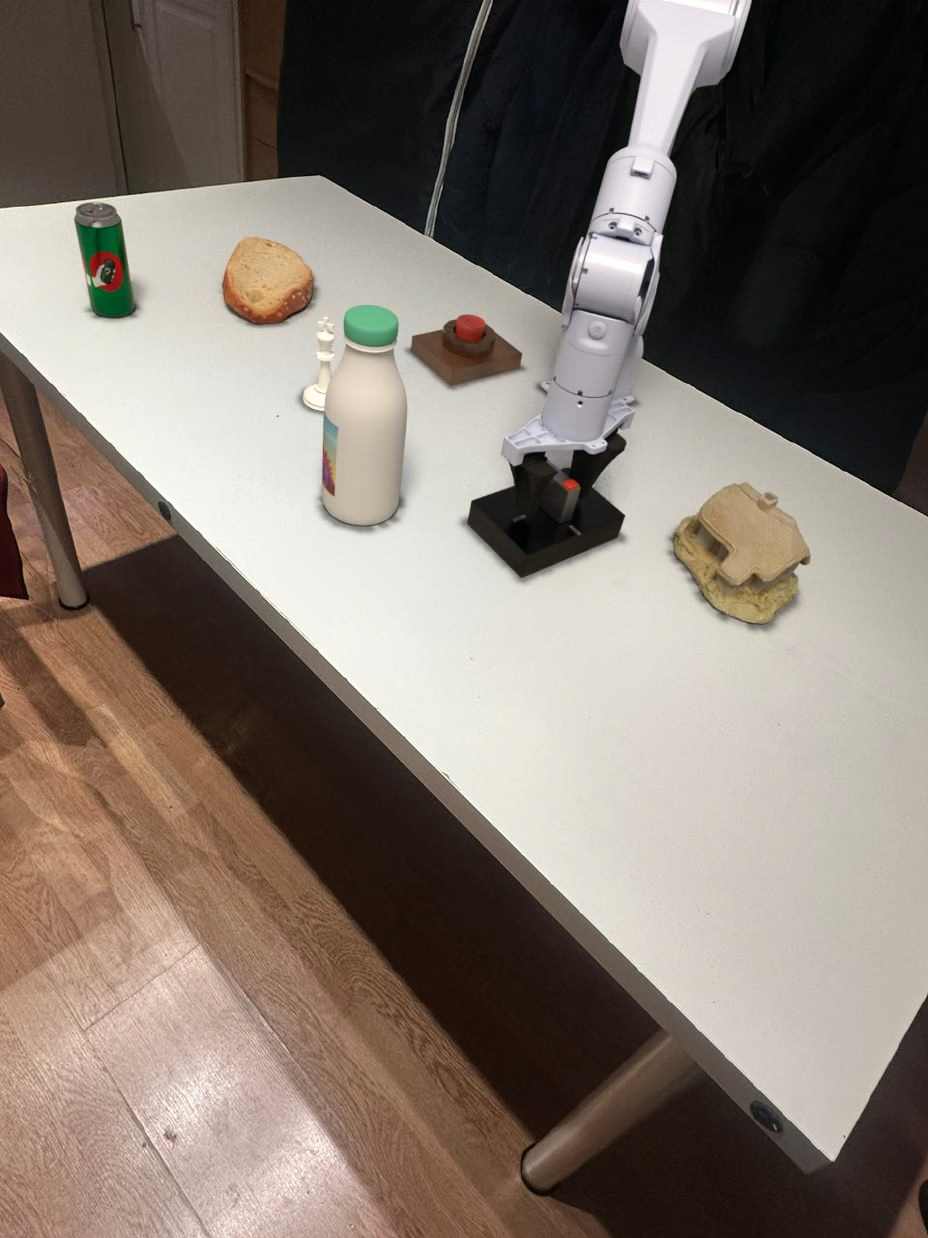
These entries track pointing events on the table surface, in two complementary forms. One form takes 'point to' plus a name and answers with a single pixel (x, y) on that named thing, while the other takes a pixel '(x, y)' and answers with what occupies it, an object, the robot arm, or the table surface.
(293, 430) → the table surface
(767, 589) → the ceramic model
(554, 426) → the robot arm
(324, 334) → the chess piece
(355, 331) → the milk bottle
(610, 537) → the panel
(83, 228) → the soda can
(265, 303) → the slice of bread
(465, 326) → the button
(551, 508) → the knob
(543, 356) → the table surface
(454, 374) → the brown button base
